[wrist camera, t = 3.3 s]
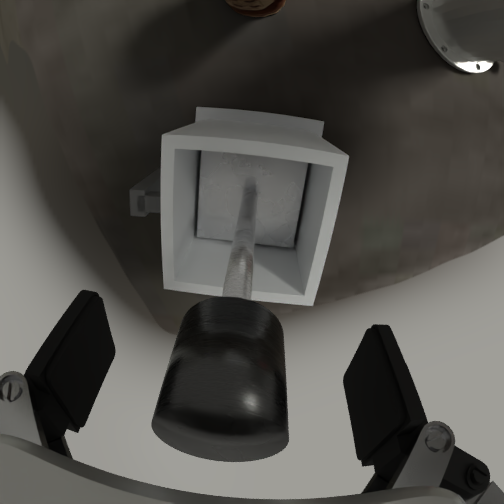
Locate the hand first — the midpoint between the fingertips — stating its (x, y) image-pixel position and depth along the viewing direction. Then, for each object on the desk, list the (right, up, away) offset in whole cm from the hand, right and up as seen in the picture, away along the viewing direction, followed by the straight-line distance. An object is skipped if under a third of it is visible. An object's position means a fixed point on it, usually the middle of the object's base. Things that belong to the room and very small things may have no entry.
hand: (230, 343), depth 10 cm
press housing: (+1, +12, +21) cm, 24 cm away
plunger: (+1, +8, +14) cm, 16 cm away
